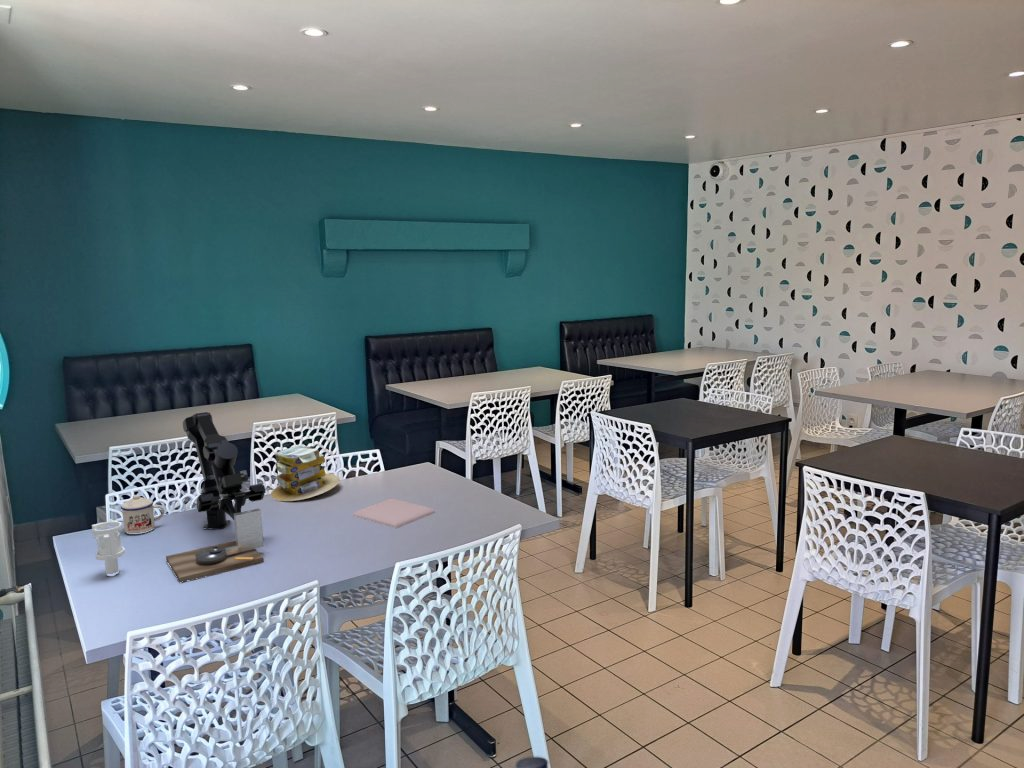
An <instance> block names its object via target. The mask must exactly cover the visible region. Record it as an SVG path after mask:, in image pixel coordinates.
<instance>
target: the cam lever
mask: <svg viewBox="0 0 1024 768" xmlns="http://www.w3.org/2000/svg"><path fill="white" fill-rule="evenodd" d="M233 522H234V533H235V540H236V546H233V547H229V548H225V549H224V548H221V547H218V546H217V547H212V548H208V549H204V550H201V551H199V552H198V553H196V555H195V556H196V562H197V563H199V564H213V563H217V562H220V561H222V560H224V559H225V558H226V557H227V555H231V554H235V553H239V552H244V551H248V550H252V549H256V550H257V549H259V548H264V534H263V533H264V532H263V520H262V510H261V509H260V508H255V509H250V510H245V511H241V512H239V513H234V520H233Z"/></svg>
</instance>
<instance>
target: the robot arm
mask: <svg viewBox="0 0 1024 768" xmlns="http://www.w3.org/2000/svg"><path fill="white" fill-rule="evenodd" d="M213 421H214V420H213V416H212V414H211V413H210V412H209V411H206V412H198V413H194V414H192V415H191V416H188V417H185V419H184V420H183V421H182V429H183V431H184V432H185V433H186V437H187V439H188V440H190V442H191V443H193V444H194V446H195V450H196V454H197V459H198V463H199V466H200V470H201V474H202V478H203V484H202V488H201V493H200V494H198V496H197V499H196V509H197V512H198V513H203V512H205V513H206V514H205V515H206V524H205V525H204V526H203V527H202V529H203V528H212V529H211V530H214V529H215V530H217V529H225V528H226V527H227V526H228V525H229V524H230V523H231V520H230V519H227V515H228V516H229V517H230V518H231V519H232V520H233V521H234V513H239V512H242V507H244V506H245V505H246V501H247V498H248V500H249V501H250V502H258V501H261V500H263V499H264V497H265V493H266V487H265V485H264V484H263V483H255V484H252V485H249V488H248V490H247V489H246V490H242V488H243V486H242V485H243V483H246V482H248V481H249V475H248V472H247V470H245V469H244V470H240V471H239V472H238V473H236V472H235V468H234V466H235V464H236V460H237V457H238V453H239V451H238V447H237V446H236V445H235V444H233V443H231V442H229V440H228V439H227V438H226V437H225V436H223V435H220V434H219V431H218V429H217V428H216V426H215V424H214V422H213ZM241 490H242V491H241ZM233 501H234V504H233Z"/></svg>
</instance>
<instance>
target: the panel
mask: <svg viewBox="0 0 1024 768" xmlns="http://www.w3.org/2000/svg"><path fill="white" fill-rule="evenodd" d="M435 513H436V511H435V509H433V508H431V507H428V506H424V505H420V504H417V503H412V502H408V501H404V500H399V499H396V498H392V497H391V498H389V499H388V498H387V499H386V500H384V501H381V502H378V503H375V504H372V505H370V506H367V507H364V508H361V509H359V510H356V511H355V512H354V513H352V516H353V515H354V516H353V517H355V516H357V517H356V518H359V517H361V518H360V519H362V518H364V519H363V520H366V519H367V520H366V521H369V520H371V521H370V522H373V521H374V522H373V523H376V522H378V523H377V524H380V523H382V524H381V525H383V524H385V525H384V526H387V525H389V526H388V527H390V526H392V527H391V528H393V527H396V528H395V529H397V527H398V528H400V527H399V526H401V527H402V525H403V526H405V525H404V524H406V525H408V524H410V523H412V521H413V522H416V521H417V519H418V520H420V519H422V517H423V518H424V517H427V516H429V514H430V515H433V514H435ZM419 518H420V519H419ZM407 523H408V524H407Z"/></svg>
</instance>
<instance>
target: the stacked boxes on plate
mask: <svg viewBox="0 0 1024 768" xmlns="http://www.w3.org/2000/svg"><path fill="white" fill-rule="evenodd" d="M274 455H275V459H276V462H275V468H276V471H277V472H279V473H280V474H277V475H276V479H277V483H278V486H277V487H275V488H274V489H273V490H272V491H271V492H270V496H271V498H272V499H273V500H274V498H275V499H276V500H275V501H280V502H293V501H301V500H305V499H310V498H313V497H315V496H319V495H321V494H324V493H326V492H328V491H330V490H332V489H333V488H335V487H336V486H337V485H338V484H339V482H340V480H341V479H340V476H339V475H337V474H334V473H326V469H325V468H326V466H325V465H322V464H324V463H326V457H325V455H324V454H322V453H320V451H319V449H318V448H315V447H311V446H307V445H304V444H297V445H296V446H292V447H289V448H285V449H281V450H279V451H277V452H275V453H274Z"/></svg>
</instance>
